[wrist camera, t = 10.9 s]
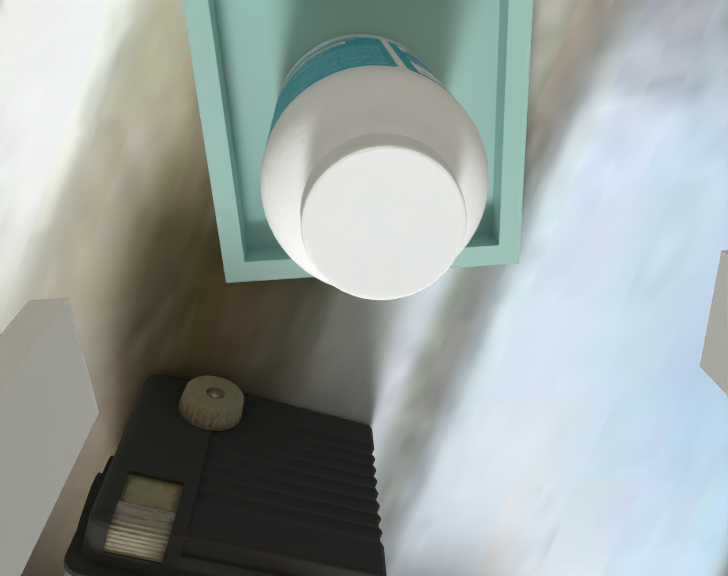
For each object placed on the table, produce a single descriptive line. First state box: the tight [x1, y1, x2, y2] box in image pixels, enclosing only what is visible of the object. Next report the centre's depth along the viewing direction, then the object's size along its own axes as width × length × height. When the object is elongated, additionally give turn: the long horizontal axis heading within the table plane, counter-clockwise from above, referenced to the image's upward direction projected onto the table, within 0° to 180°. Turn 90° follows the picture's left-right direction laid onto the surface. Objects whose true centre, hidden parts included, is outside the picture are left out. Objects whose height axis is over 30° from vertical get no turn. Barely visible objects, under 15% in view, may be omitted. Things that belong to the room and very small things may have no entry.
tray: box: [182, 0, 533, 283], centre depth 31 cm, size 14×14×2 cm
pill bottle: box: [260, 34, 489, 300], centre depth 25 cm, size 8×7×14 cm
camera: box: [63, 375, 386, 576], centre depth 33 cm, size 11×14×15 cm
